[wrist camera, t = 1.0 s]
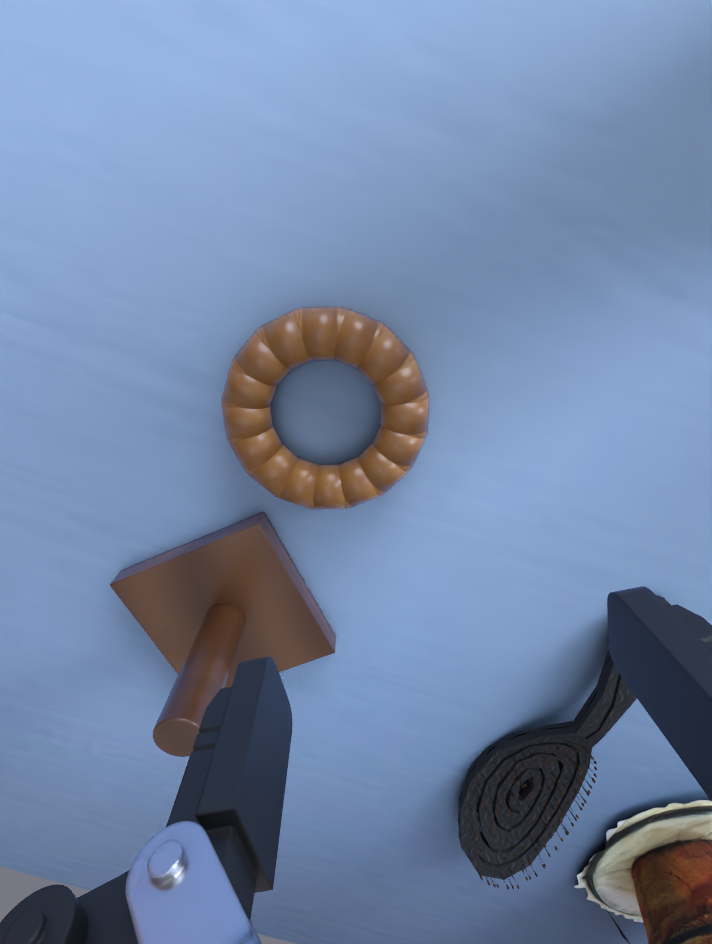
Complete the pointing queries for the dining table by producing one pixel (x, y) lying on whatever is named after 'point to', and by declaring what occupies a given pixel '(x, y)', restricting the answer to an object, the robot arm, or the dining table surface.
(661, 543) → the dining table surface
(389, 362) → the donut
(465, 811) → the hairbrush
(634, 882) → the decorative vase
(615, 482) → the dining table surface
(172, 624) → the peg stand
